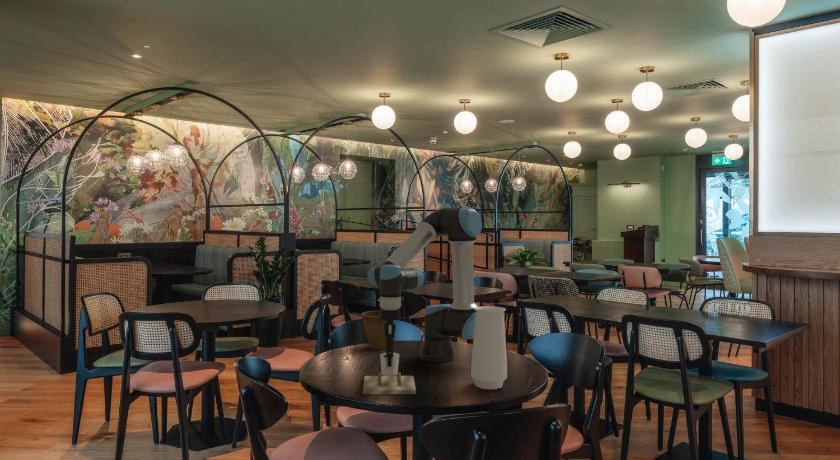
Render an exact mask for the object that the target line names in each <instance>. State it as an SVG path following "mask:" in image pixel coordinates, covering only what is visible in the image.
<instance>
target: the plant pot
mask: <svg viewBox="0 0 840 460" xmlns="http://www.w3.org/2000/svg"><path fill="white" fill-rule="evenodd" d="M361 315H362V316H361V317H362V323H363V328H364V332H365V337H366V340H367V343H368V345H369V347H370V349H373V350H384V349H386V338H385V330H384V324H386V322H387V321H386V320H381V319H380V318H379V315H380V310H370V311H365V312H362V313H361Z"/></svg>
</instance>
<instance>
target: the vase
mask: <svg viewBox="0 0 840 460" xmlns="http://www.w3.org/2000/svg"><path fill="white" fill-rule="evenodd" d="M474 309H475V310H476V318H475V328H474V339H472V353H471V364H470V365H471V366H470V368H471V369H470V376H471V379H473V381H474V386H475V387H477V388H478V387H479V389H482V390H497V389H498V388H499V389H501V388H503V386H504V382H505V380H506V379H507V378H508V361H507V344H506V343H507V342H506V328H505V327H506V326H505V313H504V312H505V311H506V310H507V309H506V307H501V306H496V305H495V306H493V305H486V306H485V305H482V306H480V305H479V306H478V307H475V308H474Z"/></svg>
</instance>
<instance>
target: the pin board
mask: <svg viewBox="0 0 840 460" xmlns="http://www.w3.org/2000/svg"><path fill="white" fill-rule="evenodd" d="M362 388H363V389H362V395H416V393H417V391H416V390H417V389H416V388H417V387H416V383H415V377H414V375H402V373H401V372H398V373H397V374H396V375H393V376H385V375H383V374H382V372H377V375H364V381H363V387H362Z"/></svg>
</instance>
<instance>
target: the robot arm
mask: <svg viewBox="0 0 840 460" xmlns="http://www.w3.org/2000/svg"><path fill="white" fill-rule="evenodd" d="M482 229H483V223H482V218H481V216H480V214H479V213H478V211H477V210H475V209H474V208H469V207H451V208H449V207H442V208H438V209H437V210H434V211H433V212H430V213H429V214H428V215H427V216H425V217H424V218H423V219H422V220H421V221H419V222H418V223H417V225H416V229H415V230H414V231H413V232H412V233H411V234H410V235H409V236H408V237H407V238H406V239H405V240H404V241H403V242H402V243H401V245H399V246H398V247H397V248H396V249H395V250H394V251H393V252H392V253H391V254H390V256H388V258H387V259H386V260H385V261H384V262H382V264H381V265H380V266H379V265H376V266H372V267H370V268H369V269H368V272H367V280H368V282H369V284H370V285H372V286H375V287H378V288H379V298H378V299H377V301H378V302H379V307H380V308H379V311H380V315H379V318H380V319H381V320H386V321H387V322H386V324H384V330H385V338H386V348H385V352H386V355H384V357H386V367H385V375H384V376H394V375H393V356H394V354H393V352H395V350H396V349H395V348H394V339H395V333H396V332H395V331H396V323H394V321H399V320H401V318H402V317H401V315H402V314H401V309H400V308H401V307H402V291H408V290H416V289H419V288H422V286H423V284H424V282H425V276H424V273H423V272H422V270H420V269H418V268H413V267H411V268H407V266H409V264H410V263H412V261H413V260H414V259H416V257H417V256H418V255H419V254H420V253H421V252H422V251H423V250H424V249H425V247H426V246H427V245H428V244H429V243H430V242H434V241H436V239H438V238H440V237H444V236H445V237H447V241H448V242H449V244H450V245H451V255H452V256H451V258H452V259H451V260H452V295H453V296H452V297H453V301H452V303H451V304H450V303H445V304H444V303H441V304H433V305H432V304H431V305H428V306H426V307H425V309H424V314H423V317H424V318H423V319H424V320H423V322H424V325H423V327H424V328H423V329H424V331H423V332H424V334H423V335H424V338H423V339H424V340H423V343H422V346H421V349H420V353H419V358H420V360H422V361H426V362H431V363H432V362H433V363H445V362H451V361H454V360H456V352H455V349H454V345H453V343H452V337H454V338H459V339H463V340H473V339H474V328H475V318H476V310H475V309H474V308H475V307H479V305H478V304H477V302H475V288H474V287H475V285H474V284H475V283H474V277H475V276H474V249H473V248H474V244H475V243H476V242H477V237H479V236H480V235H481V232H482Z"/></svg>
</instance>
